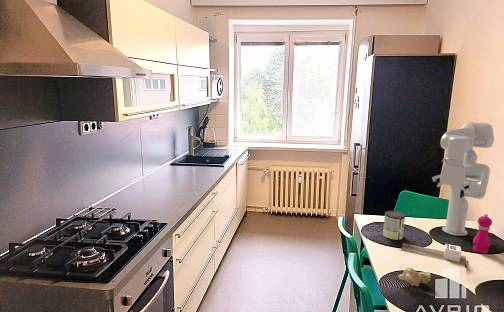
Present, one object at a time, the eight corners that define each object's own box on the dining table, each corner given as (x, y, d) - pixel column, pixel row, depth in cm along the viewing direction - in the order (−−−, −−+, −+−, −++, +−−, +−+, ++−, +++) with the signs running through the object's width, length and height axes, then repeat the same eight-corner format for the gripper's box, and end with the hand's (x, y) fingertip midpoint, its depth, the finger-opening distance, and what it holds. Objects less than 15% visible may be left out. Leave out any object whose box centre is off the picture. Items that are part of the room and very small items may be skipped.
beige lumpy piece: (434, 273, 141) (410, 268, 138) (431, 291, 140) (408, 286, 137) (418, 269, 149) (396, 264, 146) (416, 285, 148) (393, 281, 144)
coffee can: (382, 233, 195) (384, 209, 193) (401, 236, 192) (404, 212, 190) (382, 240, 186) (385, 215, 183) (403, 243, 183) (406, 218, 180)
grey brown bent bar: (402, 245, 180) (403, 242, 180) (465, 259, 167) (465, 256, 167) (400, 253, 171) (400, 250, 171) (466, 268, 158) (466, 265, 158)
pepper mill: (491, 255, 172) (497, 216, 169) (475, 253, 174) (481, 215, 170) (484, 248, 179) (490, 212, 176) (469, 247, 181) (475, 210, 177)
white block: (459, 261, 161) (461, 251, 160) (444, 258, 164) (445, 248, 163) (459, 256, 166) (460, 246, 165) (444, 253, 169) (445, 243, 168)
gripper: (434, 161, 170) (429, 194, 173) (475, 166, 162) (470, 201, 165) (434, 159, 177) (430, 191, 180) (474, 163, 168) (469, 197, 171)
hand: (449, 196), depth 172 cm, fingers open, 9 cm apart
